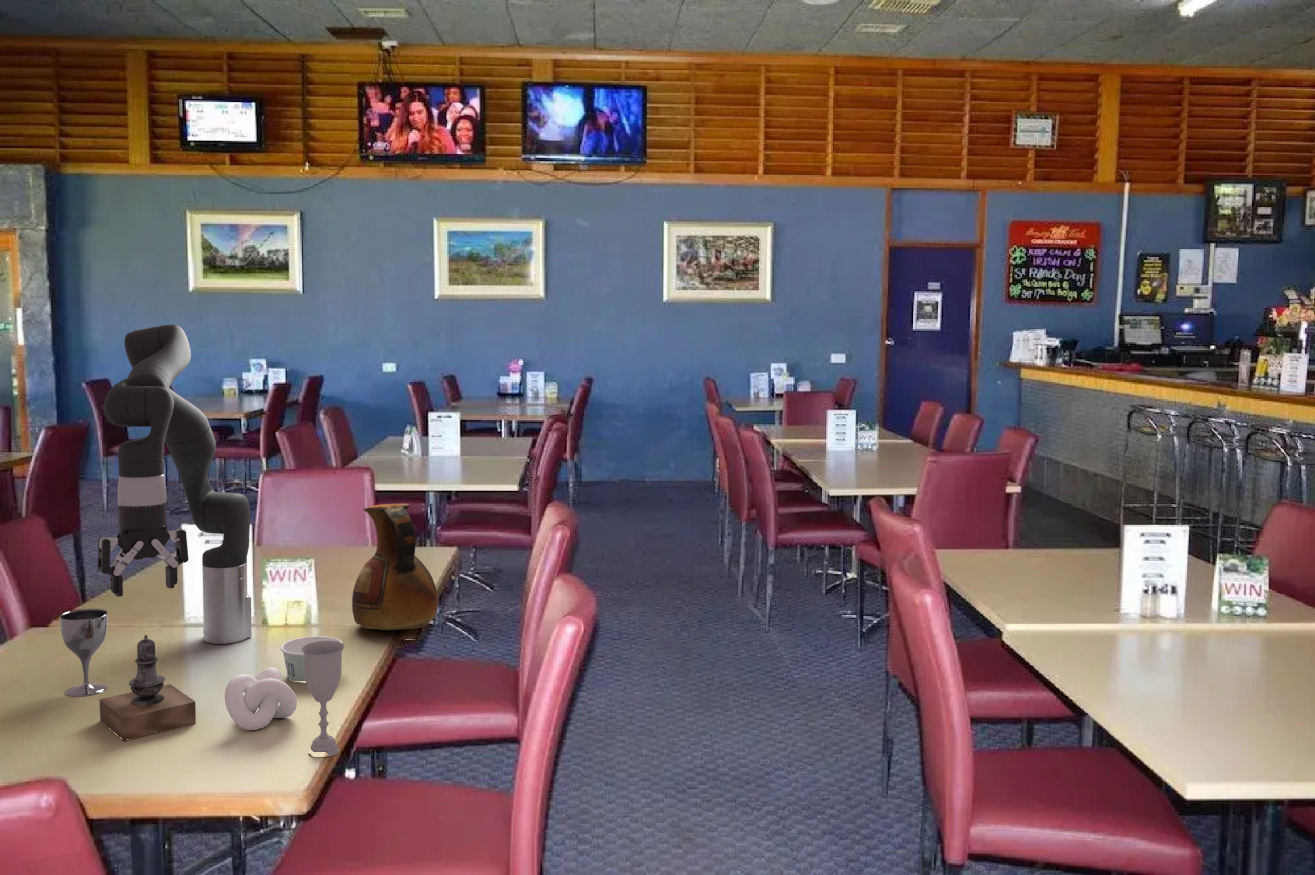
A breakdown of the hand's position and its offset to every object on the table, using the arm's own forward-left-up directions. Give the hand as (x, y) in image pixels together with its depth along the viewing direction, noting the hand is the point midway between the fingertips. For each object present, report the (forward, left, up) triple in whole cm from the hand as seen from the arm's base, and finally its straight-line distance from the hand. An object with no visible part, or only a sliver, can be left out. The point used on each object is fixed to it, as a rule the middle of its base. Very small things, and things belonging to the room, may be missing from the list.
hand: (144, 591), depth 179 cm
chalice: (-17, +32, -24) cm, 43 cm away
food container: (-33, -4, -24) cm, 41 cm away
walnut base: (0, 0, -24) cm, 24 cm away
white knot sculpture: (-14, +13, -24) cm, 31 cm away
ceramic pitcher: (-63, -22, -24) cm, 71 cm away
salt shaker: (0, 0, -20) cm, 20 cm away
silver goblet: (+3, -24, -24) cm, 34 cm away
